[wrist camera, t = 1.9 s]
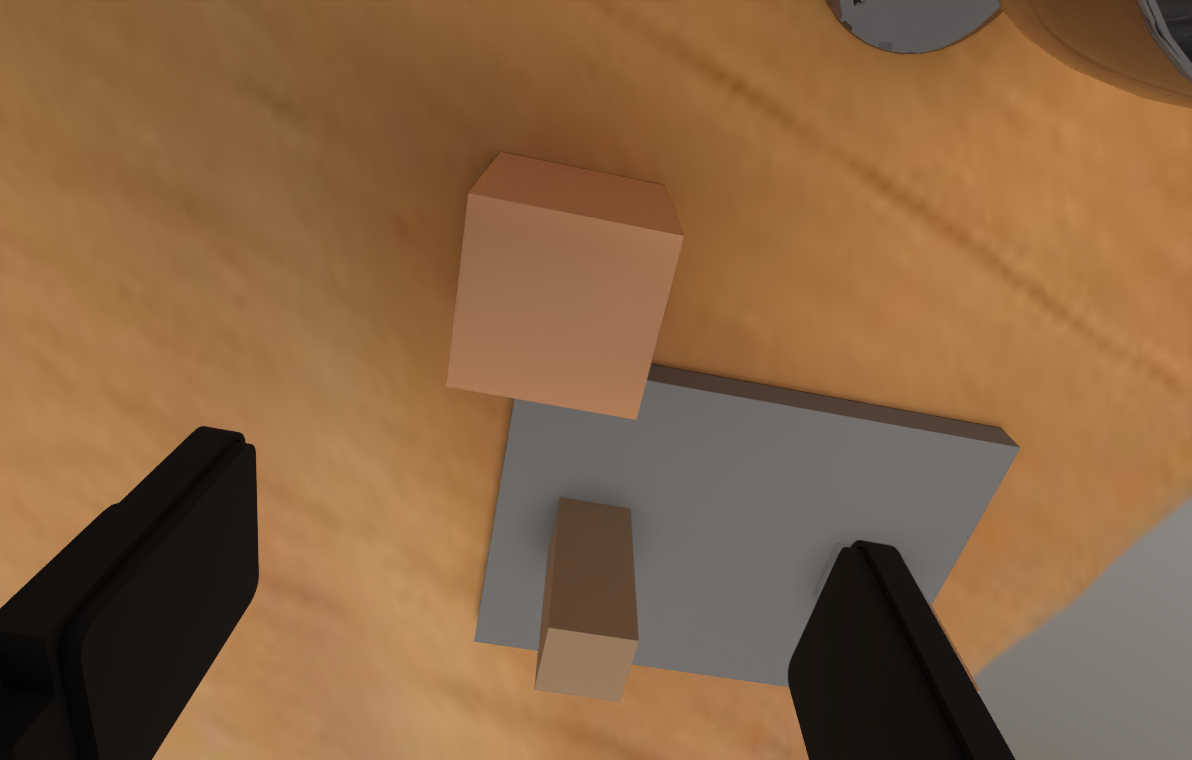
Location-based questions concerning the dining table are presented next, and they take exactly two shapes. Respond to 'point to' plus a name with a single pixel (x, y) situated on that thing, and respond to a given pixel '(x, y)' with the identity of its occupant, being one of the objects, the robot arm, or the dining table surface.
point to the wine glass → (1049, 35)
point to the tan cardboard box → (562, 285)
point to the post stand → (712, 523)
